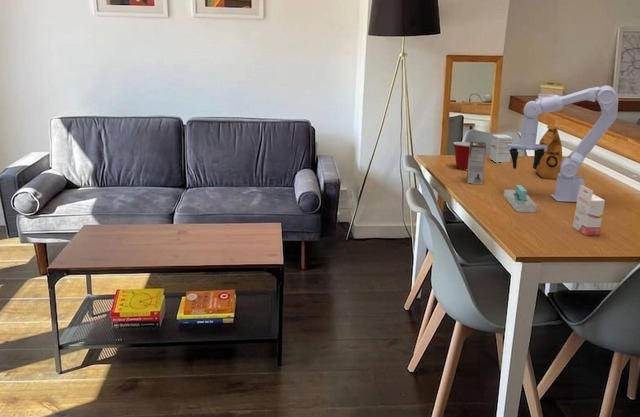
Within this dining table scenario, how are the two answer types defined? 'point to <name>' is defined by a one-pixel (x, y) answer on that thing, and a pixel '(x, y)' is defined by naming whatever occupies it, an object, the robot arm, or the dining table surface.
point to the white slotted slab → (520, 202)
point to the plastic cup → (462, 154)
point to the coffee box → (476, 162)
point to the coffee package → (550, 154)
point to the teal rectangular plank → (520, 192)
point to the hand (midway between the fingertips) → (524, 168)
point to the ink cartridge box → (588, 212)
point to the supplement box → (500, 148)
